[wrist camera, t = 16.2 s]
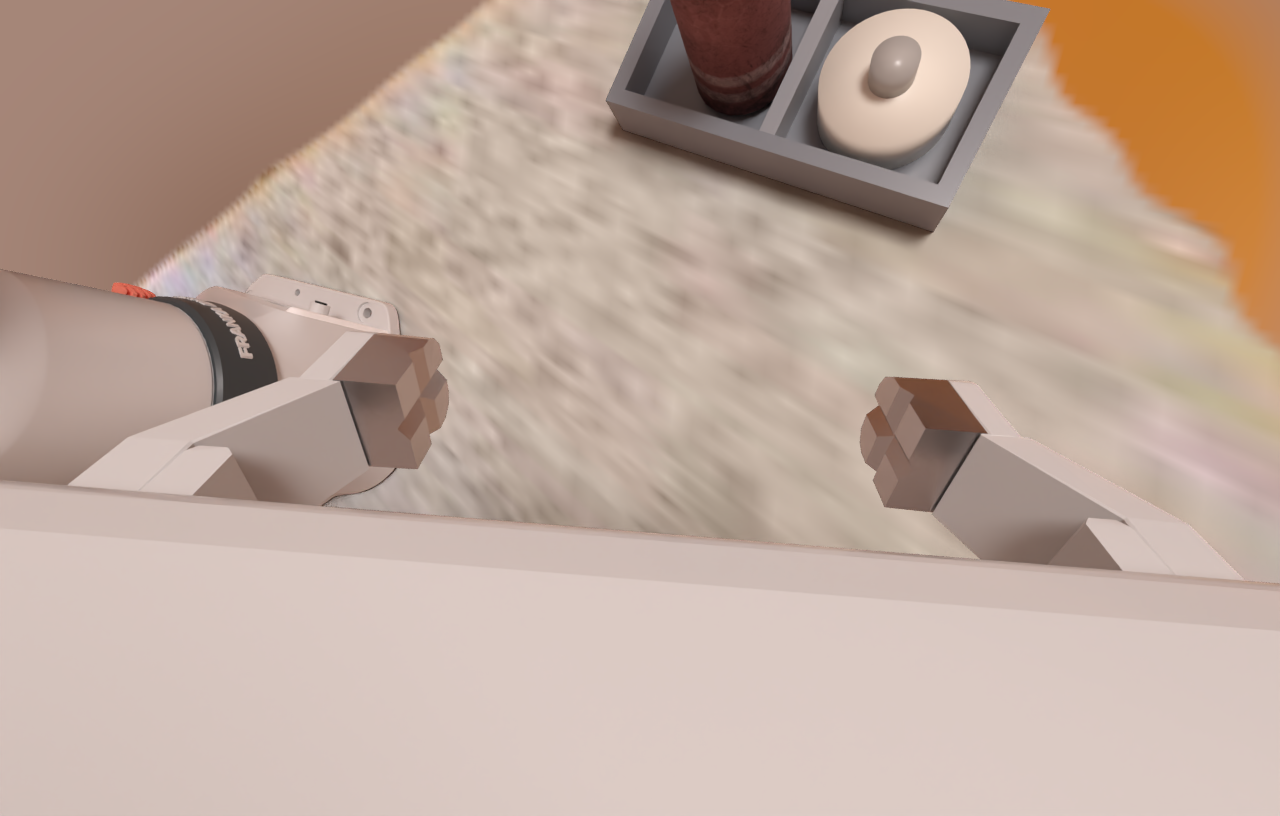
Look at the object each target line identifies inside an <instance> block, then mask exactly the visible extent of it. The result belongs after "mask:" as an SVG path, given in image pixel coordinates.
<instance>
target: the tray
mask: <svg viewBox="0 0 1280 816" xmlns="http://www.w3.org/2000/svg"><path fill="white" fill-rule="evenodd" d="M896 9H920V10H926V11H929V12H933V13H935V14H937V15H940V16H942V17H943V18H945V19H947V20H948V21H950V22H951V23H952V24H953V25H954V26H955V27H956V28H957V29H958V30H959V31H960V33H961V34H962V36H963V38H964V39H965V41H966V44H967V46H968V49H969V54H970V75H969V79H968V83H967V86H966V89H965V91H964V93H963V96H962V98H961V100H960V102H959V104H958V106H957V109H956V111H955V113H954V115H953V117H952V119H951V122H950V124H949V126H948V128H947V129H946V131H945V133H944V135H943V136H942V137H941V138H940V140H939V141H938V142H937V143H936V144H935V145H934V146H933V147H932V148H931V149H930V150H929V151H928V152H927V153H925V154H924V155H923V156H921V157H920V158H918V159H917V160H915V161H913V162H911V163H909V164H907V165H904V166H902V167H899V168H895V169H891V170H889V169H885V168H882V167H879V166H875V165H872V164H869V163H865V162H862V161H859V160H856V159H852V158H849V157H846V156H842V155H839V154H836V153H832V152H829V151H828V150H827V149H826V147H825V146H824V144H823V142H822V140H821V138H820V135H819V132H818V125H817V109H818V85H819V77H820V74H821V70H822V67H823V65H824V62H825V60H826V58H827V56H828V54H829V53H830V51H831V50H832V48H833V47H834V45H835V44H836V43H837V42H838V41H839V40H840V39H841V37H842V36H844V35H845V34H846V33H847V32H848V31H849V30H850V29H852V28H853V27H854V26H856V25H857V24H859V23H861V22H862V21H864V20H866V19H868V18H870V17H872V16H874V15H877V14H880V13H883V12H886V11H891V10H896ZM1049 11H1050V9H1048V8H1042V7H1037V6H1032V5H1027V4H1022V3H1017V2H1012V1H1007V0H791V24H792V54H793V58H792V62H791V64H790V66H789V68H788V70H787V72H786V75H785V77H784V79H783V81H782V83H781V85H780V87H779V89H778V92H777V94H776V96H775V98H774V100H772V101H771V102H770V103H768V104H767V105H765V106H764V107H762V108H761V109H760V110H758V111H755V112H752V113H749V114H746V115H733V116H730V115H726V114H723V113H719V112H716V111H715V110H713V109H712V108H711V107H709V106H708V105H707V104H705V102H704V100H703V99H702V97H701V96H700V94H699V92H698V89H697V86H696V82H695V79H694V76H693V73H692V69H691V66H690V63H689V60H688V57H687V53H686V50H685V47H684V44H683V40H682V37H681V34H680V31H679V28H678V24H677V21H676V18H675V15H674V12H673V8H672V5H671V2H670V0H650V1H649V3H648V6H647V8H646V10H645V12H644V15H643V17H642V19H641V21H640V24H639V26H638V28H637V31H636V33H635V35H634V37H633V40H632V42H631V44H630V46H629V49H628V51H627V53H626V55H625V58H624V60H623V62H622V64H621V67H620V69H619V71H618V73H617V76H616V78H615V80H614V82H613V85H612V87H611V89H610V92H609V94H608V96H607V98H606V102H607V104H608V105H609V107H610V109H611V110H612V112H613V114H614V115H615V117H616V119H617V120H618V122H619V124H620V125H621V127H622V129H623V130H625V131H628V132H631V133H634V134H637V135H640V136H643V137H646V138H649V139H652V140H655V141H658V142H661V143H664V144H667V145H670V146H673V147H676V148H679V149H683V150H686V151H689V152H692V153H695V154H698V155H701V156H704V157H707V158H710V159H713V160H716V161H719V162H722V163H725V164H728V165H731V166H734V167H737V168H740V169H743V170H746V171H749V172H752V173H755V174H758V175H761V176H765V177H768V178H771V179H774V180H777V181H780V182H783V183H786V184H789V185H792V186H795V187H798V188H801V189H804V190H807V191H810V192H813V193H816V194H819V195H822V196H825V197H828V198H831V199H834V200H837V201H840V202H843V203H847V204H850V205H853V206H856V207H859V208H862V209H865V210H868V211H871V212H874V213H877V214H880V215H883V216H886V217H889V218H892V219H895V220H898V221H901V222H904V223H907V224H910V225H913V226H916V227H919V228H922V229H926V230H929V231H932V232H934V230H935V228H936V227H937V225H938V224H939V222H940V220H941V219H942V217H943V216H944V214H945V213H946V211H947V209H948V208H949V206H950V204H951V202H952V200H953V198H954V196H955V194H956V192H957V190H958V188H959V186H960V184H961V182H962V180H963V178H964V177H965V175H966V173H967V171H968V169H969V167H970V165H971V163H972V161H973V159H974V157H975V155H976V153H977V151H978V149H979V147H980V145H981V143H982V141H983V139H984V138H985V136H986V134H987V132H988V130H989V128H990V126H991V124H992V122H993V120H994V118H995V116H996V114H997V112H998V110H999V108H1000V106H1001V104H1002V102H1003V100H1004V98H1005V97H1006V95H1007V93H1008V91H1009V89H1010V87H1011V85H1012V83H1013V81H1014V79H1015V77H1016V75H1017V73H1018V71H1019V69H1020V67H1021V65H1022V63H1023V61H1024V59H1025V57H1026V56H1027V54H1028V52H1029V50H1030V48H1031V46H1032V44H1033V42H1034V40H1035V38H1036V36H1037V34H1038V32H1039V30H1040V28H1041V26H1042V24H1043V22H1044V20H1045V18H1046V16H1047V15H1048V13H1049Z"/></svg>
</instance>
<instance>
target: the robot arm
mask: <svg viewBox="0 0 1280 816" xmlns="http://www.w3.org/2000/svg"><path fill="white" fill-rule="evenodd" d="M371 312H372V314H371ZM370 314H371V316H370ZM442 360H443V358H442V353H441V349H440V345H439V343H438V342H437V341H436V340H435V339H434V338H426V337H417V336H407V335H400V331H399V320H398V314H397V311H396V309H395V307H394V306H393V305H392V304H390V303H387V302H383V301H378V300H374V299H370V298H366V297H362V296H358V295H354V294H350V293H346V292H342V291H338V290H334V289H330V288H326V287H322V286H318V285H314V284H310V283H305V282H301V281H297V280H293V279H289V278H285V277H281V276H276V275H271V274H264V275H262V276H260V277H259V278H258V279H257V280H256V281H255V282H254V283H253V284H252V285H251V286H250V287H249V288H248V289H247V291H246V292H245V293H243V292H239V291H235V290H231V289H227V288H223V287H218V286H214V287H211V288H208V289H206V290H205V291H203V292H202V293H201V294H199V295H198V296H197V297H196V298H189V297H160V296H158V297H156V296H155V294H153V293H152V292H150V291H148V290H146V289H142V288H140V287H137V286H133V285H130V284H124V283H114V284H113V287H112V291H106V290H101V289H96V288H92V287H87V286H82V285H77V284H72V283H67V282H62V281H57V280H52V279H48V278H43V277H37V276H33V275H28V274H23V273H17V272H13V271H8V270H3V269H0V816H1280V584H1279V583H1267V582H1254V581H1245V580H1244V579H1243V578H1242V577H1241V576H1240V575H1239V574H1238V573H1237V572H1236V571H1235V570H1234V569H1233V568H1232V567H1231V566H1230V565H1229V564H1228V563H1227V562H1226V561H1225V560H1224V559H1223V558H1222V557H1221V556H1220V555H1219V554H1218V553H1217V552H1216V551H1215V550H1214V549H1213V548H1212V547H1211V546H1210V545H1209V544H1208V543H1207V542H1206V541H1205V540H1204V539H1203V538H1202V537H1201V536H1200V535H1199V534H1198V533H1197V532H1196V531H1195V530H1194V529H1193V528H1192V527H1191V526H1190V525H1189V524H1187V523H1185V522H1183V521H1182V520H1180V519H1178V518H1176V517H1174V516H1172V515H1171V514H1169V513H1167V512H1165V511H1163V510H1161V509H1160V508H1158V507H1156V506H1154V505H1152V504H1150V503H1149V502H1147V501H1145V500H1143V499H1141V498H1139V497H1138V496H1136V495H1134V494H1132V493H1130V492H1128V491H1127V490H1125V489H1123V488H1121V487H1119V486H1117V485H1116V484H1114V483H1112V482H1110V481H1108V480H1106V479H1105V478H1103V477H1101V476H1099V475H1097V474H1095V473H1094V472H1092V471H1090V470H1088V469H1086V468H1084V467H1083V466H1081V465H1079V464H1077V463H1075V462H1073V461H1072V460H1070V459H1068V458H1066V457H1064V456H1062V455H1061V454H1059V453H1057V452H1055V451H1053V450H1051V449H1050V448H1048V447H1046V446H1044V445H1042V444H1040V443H1039V442H1037V441H1035V440H1033V439H1031V438H1025V437H1021V436H1020V435H1019V434H1018V433H1017V431H1016V430H1015V429H1014V428H1013V427H1012V425H1011V424H1010V423H1009V422H1008V421H1007V419H1006V418H1005V417H1004V416H1003V415H1002V413H1001V412H1000V411H999V410H998V409H997V407H996V406H995V405H994V404H993V402H992V401H991V400H990V399H989V398H988V396H987V395H986V394H985V393H984V392H983V390H982V389H981V388H980V387H979V386H978V384H975V383H973V382H971V381H959V380H937V379H919V378H902V377H885V378H884V379H883V380H882V382H881V383H880V384H879V386H878V389H877V391H876V393H875V397H876V400H877V402H878V405H879V406H877V407H876V408H875V409H873V410H872V411H871V412H869V413H868V414H866V417H865V420H864V422H863V425H862V428H861V435H860V447H861V453H862V456H863V458H864V461H865V463H866V464H868V465H869V466H870V467H871V468H873V469H874V470H875V471H877V472H876V474H875V476H874V479H873V482H874V484H875V486H876V489H877V491H878V493H879V495H880V498H881V500H882V502H883V505H884V507H888V508H897V509H906V510H915V511H925V512H933V513H932V515H933V516H934V517H935V518H936V519H937V520H939V521H940V522H941V523H942V524H943V525H944V526H945V527H946V528H947V529H948V530H949V531H950V532H951V533H953V534H954V535H955V536H956V537H957V538H958V539H959V540H960V541H961V542H962V543H963V544H964V545H966V546H967V547H968V548H969V549H970V550H971V551H972V552H973V553H974V554H975V555H976V556H977V557H978V558H980V559H969V558H957V557H944V556H932V555H920V554H907V553H895V552H883V551H871V550H858V549H846V548H834V547H821V546H809V545H797V544H784V543H772V542H760V541H748V540H735V539H723V538H710V537H697V536H685V535H672V534H659V533H647V532H635V531H622V530H610V529H598V528H586V527H573V526H561V525H549V524H536V523H524V522H512V521H499V520H487V519H475V518H463V517H450V516H438V515H426V514H413V513H401V512H389V511H376V510H364V509H352V508H340V507H327V506H321V505H323V504H324V503H326V502H327V501H329V500H330V499H331V498H333V497H335V496H338V495H345V494H354V493H359V492H362V491H365V490H368V489H370V488H372V487H374V486H375V485H377V484H378V483H380V482H381V481H383V480H384V479H385V478H386V477H387V476H388V475H389V474H390V473H391V472H392V471H393V470H394V469H395V468H407V469H418V468H419V466H420V464H421V462H422V461H423V459H424V457H425V455H426V453H427V452H428V450H429V448H430V446H431V444H432V443H431V439H430V434H431V433H433V432H434V431H436V430H438V429H440V428H441V426H442V424H443V422H444V420H445V418H446V414H447V410H448V405H449V390H448V384H447V380H446V379H445V378H444V376H443V375H442V374H441V373H440V372H439V371H438V370H437V368H438V367H439V365H440V363H441V362H442Z"/></svg>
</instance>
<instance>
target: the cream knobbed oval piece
mask: <svg viewBox="0 0 1280 816" xmlns="http://www.w3.org/2000/svg"><path fill="white" fill-rule="evenodd" d="M969 75H970V54H969V49H968V46H967V44H966V41H965V39H964V38H963V36H962V34H961V33H960V31H959V30H958V29H957V28H956V27H955V26H954V25H953V24H952V23H951V22H950V21H948V20H947V19H945V18H943V17H942V16H940V15H937V14H935V13H933V12H929V11H926V10H920V9H896V10H891V11H886V12H883V13H880V14H877V15H874V16H872V17H870V18H868V19H866V20H864V21H862V22H861V23H859V24H857V25H856V26H854V27H853V28H852V29H850V30H849V31H848V32H847V33H846V34H845V35H844V36H842V37H841V39H840V40H839V41H838V42H837V43H836V44H835V45H834V47H833V48H832V50H831V51H830V53H829V54H828V56H827V58H826V60H825V62H824V65H823V67H822V70H821V74H820V77H819V85H818V109H817V125H818V132H819V135H820V138H821V140H822V142H823V144H824V146H825V147H826V149H827V150H828V151H829V152H832V153H836V154H839V155H842V156H846V157H849V158H852V159H856V160H859V161H862V162H865V163H869V164H872V165H875V166H879V167H882V168H885V169H889V170H891V169H895V168H899V167H902V166H904V165H907V164H909V163H911V162H913V161H915V160H917V159H918V158H920V157H921V156H923V155H924V154H925V153H927V152H928V151H929V150H930V149H931V148H932V147H933V146H934V145H935V144H936V143H937V142H938V141H939V140H940V138H941V137H942V136H943V135H944V133H945V131H946V129H947V128H948V126H949V124H950V122H951V119H952V117H953V115H954V113H955V111H956V109H957V106H958V104H959V102H960V100H961V98H962V96H963V93H964V91H965V89H966V86H967V83H968V79H969Z"/></svg>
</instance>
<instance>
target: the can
mask: <svg viewBox="0 0 1280 816" xmlns="http://www.w3.org/2000/svg"><path fill="white" fill-rule="evenodd" d="M670 2H671V5H672V8H673V12H674V15H675V18H676V21H677V24H678V28H679V31H680V34H681V37H682V40H683V44H684V47H685V50H686V53H687V57H688V60H689V63H690V66H691V69H692V73H693V76H694V79H695V82H696V86H697V89H698V92H699V94H700V96H701V97H702V99H703V100H704V102H705V104H707V105H708V106H709V107H711V108H712V109H713V110H715V111H716V112H719V113H723V114H726V115H730V116H733V115H746V114H749V113H752V112H755V111H758V110H760V109H761V108H762V107H764V106H765V105H767V104H768V103H770V102H771V101H772V100H774V98H775V96H776V94H777V92H778V89H779V87H780V85H781V83H782V81H783V79H784V77H785V75H786V72H787V70H788V68H789V66H790V64H791V62H792V58H793V54H792V24H791V0H670Z"/></svg>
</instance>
